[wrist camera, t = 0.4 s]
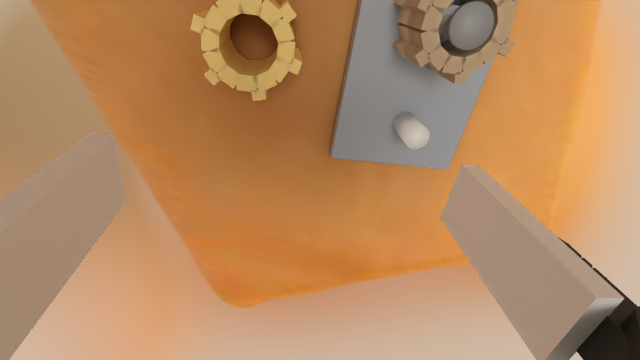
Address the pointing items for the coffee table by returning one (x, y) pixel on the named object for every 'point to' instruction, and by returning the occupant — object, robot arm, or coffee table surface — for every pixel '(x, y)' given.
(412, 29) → the gear
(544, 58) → the coffee table surface
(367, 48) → the gear board
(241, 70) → the ochre gear
